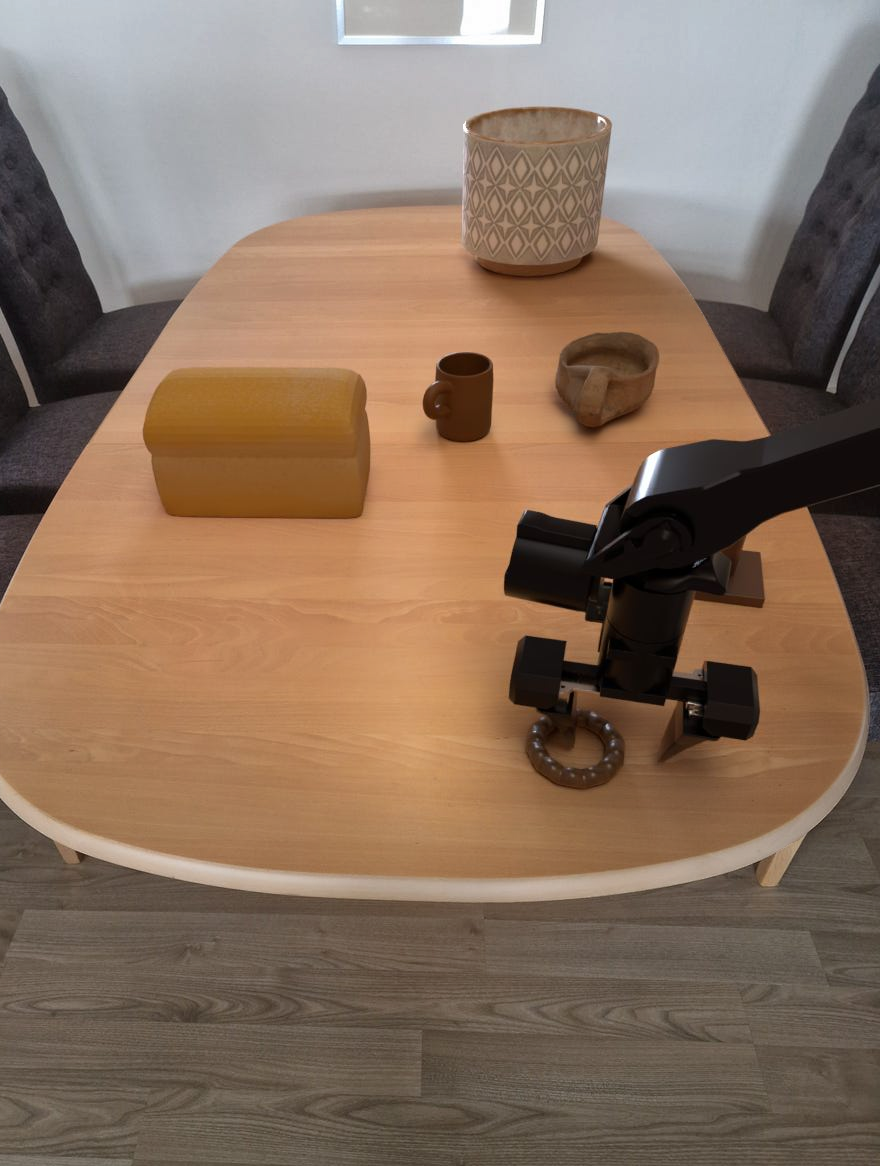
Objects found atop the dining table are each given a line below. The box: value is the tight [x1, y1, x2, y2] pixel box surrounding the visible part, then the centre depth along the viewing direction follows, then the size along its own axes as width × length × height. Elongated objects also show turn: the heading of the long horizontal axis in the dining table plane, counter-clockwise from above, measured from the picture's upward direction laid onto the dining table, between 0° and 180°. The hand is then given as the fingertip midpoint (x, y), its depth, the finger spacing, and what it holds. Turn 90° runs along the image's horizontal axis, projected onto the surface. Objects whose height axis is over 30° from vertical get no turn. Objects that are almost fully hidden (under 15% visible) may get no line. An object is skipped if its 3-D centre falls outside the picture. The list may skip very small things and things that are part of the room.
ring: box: [525, 707, 626, 789], centre depth 73 cm, size 8×8×2 cm
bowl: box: [554, 331, 660, 428], centre depth 113 cm, size 18×14×10 cm
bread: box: [142, 366, 371, 519], centre depth 100 cm, size 24×13×15 cm, turn 86°
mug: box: [422, 351, 494, 443], centre depth 110 cm, size 12×8×9 cm, turn 140°
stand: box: [694, 534, 766, 609], centre depth 87 cm, size 8×8×7 cm
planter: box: [461, 106, 613, 277], centre depth 152 cm, size 26×26×22 cm
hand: (615, 751), depth 72 cm, fingers open, 7 cm apart
